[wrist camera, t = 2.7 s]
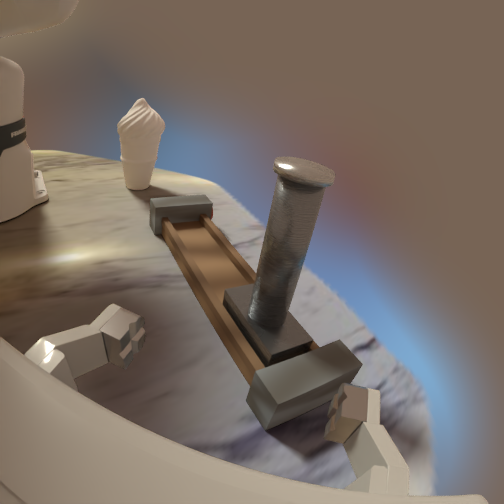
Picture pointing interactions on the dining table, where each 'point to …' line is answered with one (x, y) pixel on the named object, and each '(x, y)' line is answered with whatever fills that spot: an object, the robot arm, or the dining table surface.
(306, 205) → the carriage
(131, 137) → the soft serve ice cream cone
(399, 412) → the dining table surface
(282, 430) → the dining table surface
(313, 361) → the rail
